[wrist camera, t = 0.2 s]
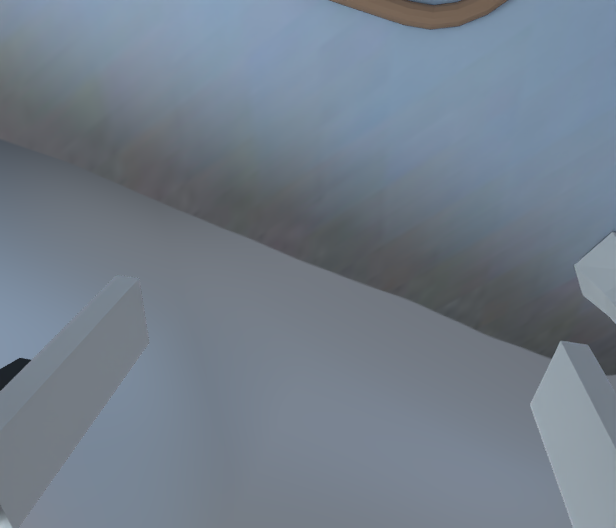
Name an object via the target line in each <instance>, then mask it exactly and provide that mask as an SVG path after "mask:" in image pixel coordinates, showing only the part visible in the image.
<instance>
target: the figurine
mask: <svg viewBox="0 0 616 528" xmlns="http://www.w3.org/2000/svg"><path fill="white" fill-rule="evenodd" d="M574 268H575V271H576V275H577V278H578V281H579V285H580V288H581V291H582V295H583V296H584V297H586V298H587V299H588V300H589V301H591V302H592V303H593V304H594V305H596V306H597V307H598V308H599V309H601V310H602V311H603V312H604V313H606V314H607V315H608V316H609V317H610V318H611V319H612V320H613V321H614V322H615V324H616V233H615V232H612V233H611V234H609V235H608V236H607V237H606V238H605V239H604V240H602V241H601V242H600V243H599V244H598V245H597V246H596V247H594V248H593V249H592V250H591V251H590V252H589V253H588V254H586V255H585V256H584V257H583V258H582V259H581V260H579V261H578V262H577V263H576V264H575V265H574Z"/></svg>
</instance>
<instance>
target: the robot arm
mask: <svg viewBox="0 0 616 528" xmlns="http://www.w3.org/2000/svg"><path fill="white" fill-rule="evenodd" d="M148 344H149V337H148V331H147V324H146V318H145V312H144V305H143V299H142V292H141V286H140V280H139V278H135V277H128V276H122V275H116V276H115V277H114V278H113V279H112V280H111V281H110V282H109V283H108V284H107V285H106V286H105V287H104V288H103V289H102V290H101V291H100V292H99V293H98V294H97V296H95V297H94V298H93V299H92V300H91V301H90V302H89V303H88V304H87V305H86V306H85V307H84V308H83V309H82V310H81V311H80V312H79V313H78V314H77V315H76V316H75V317H74V318H73V319H72V320H71V321H70V322H69V323H68V324H67V325H66V326H65V327H64V328H63V329H62V330H61V331H60V332H59V333H58V334H57V335H56V336H55V337H54V338H53V339H52V340H51V341H50V342H49V343H48V344H47V345H46V346H45V347H44V348H43V349H42V350H41V351H40V352H39V353H38V354H37V355H36V356H35V357H34V358H33V359H32V360H28V359H23V358H19V359H17V360H15V361H14V362H12V363H10V364H8V365H7V366H5V367H3V368H1V369H0V528H19V527H20V525H21V524H22V522H23V521H24V519H25V518H26V517H27V515H28V514H29V512H30V511H31V510H32V508H33V507H34V505H35V504H36V503H37V501H38V500H39V498H40V497H41V496H42V494H43V493H44V491H45V490H46V488H47V487H48V486H49V484H50V483H51V481H52V480H53V478H54V477H55V476H56V474H57V473H58V471H59V470H60V469H61V467H62V466H63V464H64V463H65V461H66V460H67V459H68V457H69V456H70V454H71V453H72V452H73V450H74V449H75V447H76V446H77V444H78V443H79V441H80V440H81V439H82V437H83V436H84V434H85V433H86V432H87V430H88V428H89V427H90V426H91V425H92V423H93V421H94V420H95V419H96V417H97V416H98V415H99V413H100V412H101V410H102V409H103V408H104V406H105V405H106V403H107V402H108V401H109V399H110V398H111V396H112V395H113V393H114V392H115V391H116V389H117V388H118V386H119V385H120V384H121V382H122V381H123V379H124V378H125V376H126V375H127V374H128V372H129V371H130V369H131V368H132V366H133V365H134V364H135V362H136V361H137V359H138V358H139V356H140V355H141V354H142V352H143V351H144V349H145V348H146V347H147V345H148ZM530 407H531V409H532V412H533V415H534V418H535V421H536V424H537V427H538V429H539V432H540V435H541V438H542V441H543V444H544V446H545V449H546V452H547V455H548V458H549V461H550V464H551V466H552V469H553V472H554V475H555V478H556V480H557V483H558V486H559V489H560V492H561V495H562V498H563V501H564V503H565V506H566V509H567V512H568V515H569V518H570V521H571V523H572V526H573V528H616V392H615V391H614V389H613V387H612V385H611V384H610V382H609V380H608V379H607V377H606V375H605V373H604V372H603V370H602V368H601V366H600V365H599V363H598V361H597V360H596V358H595V356H594V354H593V353H592V351H591V349H590V348H589V346H588V345H585V344H579V343H572V342H565V341H560V343H559V345H558V347H557V350H556V352H555V354H554V356H553V358H552V360H551V362H550V364H549V366H548V368H547V370H546V372H545V375H544V377H543V379H542V381H541V383H540V385H539V387H538V389H537V391H536V393H535V396H534V397H533V400H532V402H531V404H530Z"/></svg>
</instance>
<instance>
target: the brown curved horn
mask: <svg viewBox="0 0 616 528" xmlns="http://www.w3.org/2000/svg"><path fill="white" fill-rule="evenodd" d="M330 1H333V2H336V3H339V4H342V5H345V6H348V7H351V8H354V9H357V10H360V11H363V12H366V13H369V14H372V15H375V16H378V17H381V18H384V19H387V20H390V21H393V22H397V23H400V24H403V25H407V26H413V27H419V28H425V29H438V28H447V27H455V26H460V25H463V24H465V23H468V22H470V21H473V20H475V19H478V18H480V17H483V16H485V15H488V14H489V13H490V12H492V11H493V10H495V9H496V8H498V7H499V6H500V5H502V4H503V3H505V2H506V1H508V0H461V1H459V2H455V3H448V4H440V5H429V4H423V3H417V2H411V1H408V0H330Z"/></svg>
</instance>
